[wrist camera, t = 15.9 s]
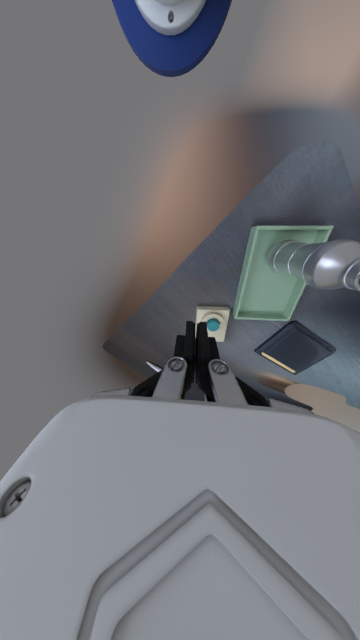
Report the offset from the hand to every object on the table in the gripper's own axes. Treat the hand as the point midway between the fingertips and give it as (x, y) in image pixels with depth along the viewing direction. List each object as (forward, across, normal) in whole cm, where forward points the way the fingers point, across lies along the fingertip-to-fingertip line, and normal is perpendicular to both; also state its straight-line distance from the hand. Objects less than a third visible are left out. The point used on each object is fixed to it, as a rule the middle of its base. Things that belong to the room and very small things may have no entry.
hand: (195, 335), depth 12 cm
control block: (+27, -6, +15) cm, 31 cm away
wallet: (+27, -34, +24) cm, 50 cm away
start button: (+23, -6, +13) cm, 27 cm away
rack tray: (+27, -19, +1) cm, 33 cm away
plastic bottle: (+27, -19, -4) cm, 33 cm away
